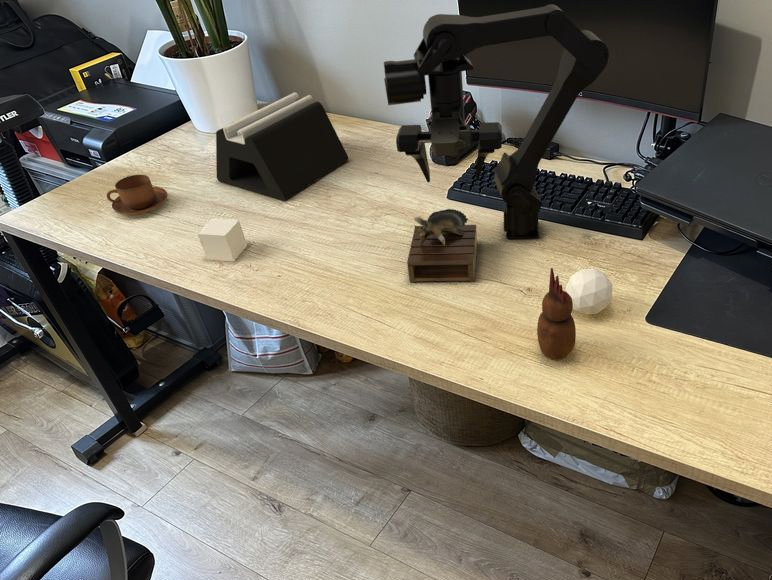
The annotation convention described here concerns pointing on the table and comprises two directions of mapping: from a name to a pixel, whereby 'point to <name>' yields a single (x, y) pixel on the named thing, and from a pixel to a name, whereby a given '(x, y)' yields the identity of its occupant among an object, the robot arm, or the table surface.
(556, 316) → the wooden figurine
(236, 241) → the cream white cube
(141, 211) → the cup and saucer
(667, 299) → the table surface
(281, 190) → the device stand
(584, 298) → the geometric ball
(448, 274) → the box
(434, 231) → the brown grey dinosaur figurine
